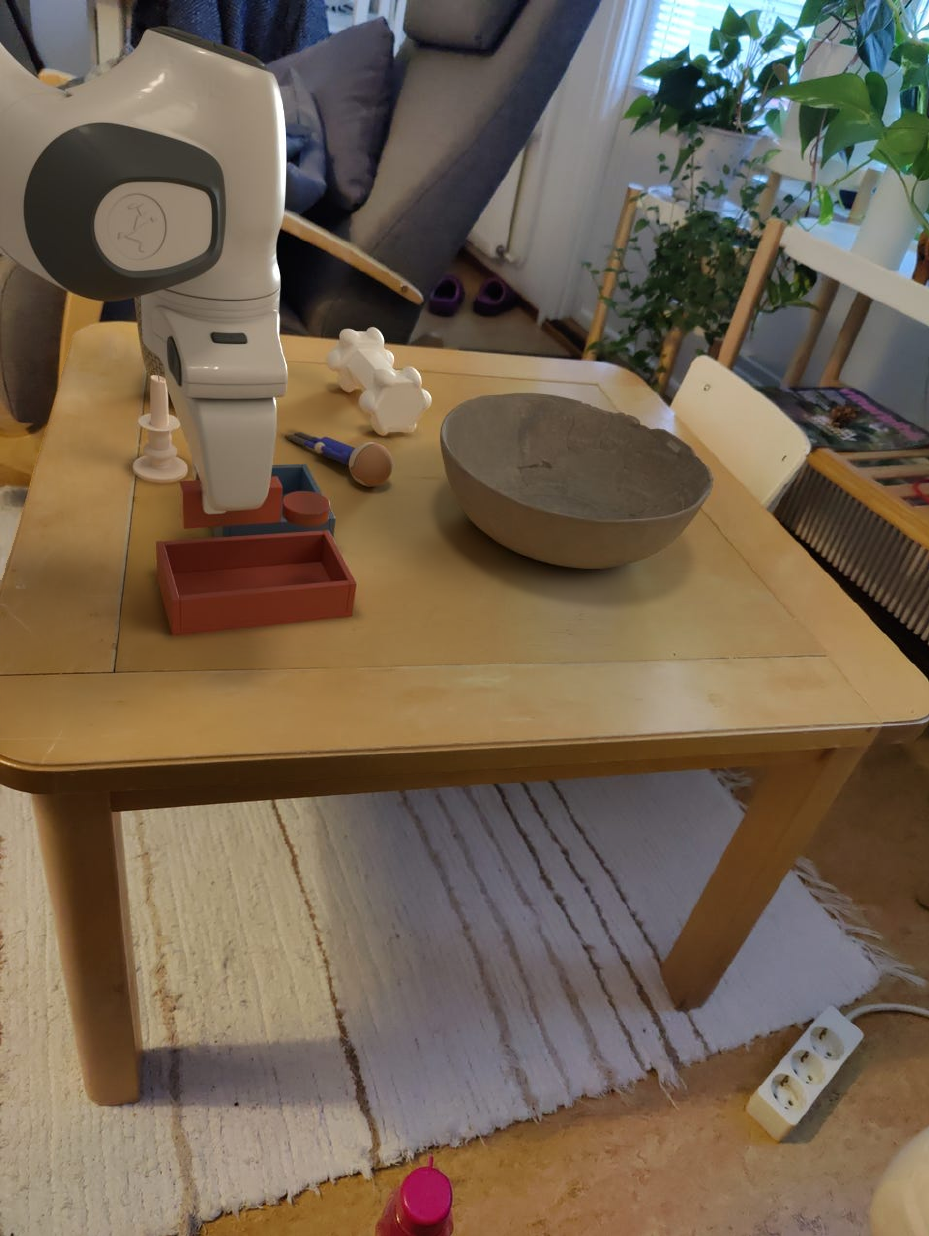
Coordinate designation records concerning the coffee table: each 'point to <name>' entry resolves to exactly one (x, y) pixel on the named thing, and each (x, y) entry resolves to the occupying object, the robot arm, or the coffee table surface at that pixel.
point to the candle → (159, 439)
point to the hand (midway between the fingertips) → (210, 498)
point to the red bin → (253, 581)
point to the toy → (352, 457)
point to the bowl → (570, 479)
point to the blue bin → (291, 481)
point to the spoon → (295, 509)
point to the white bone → (378, 381)
